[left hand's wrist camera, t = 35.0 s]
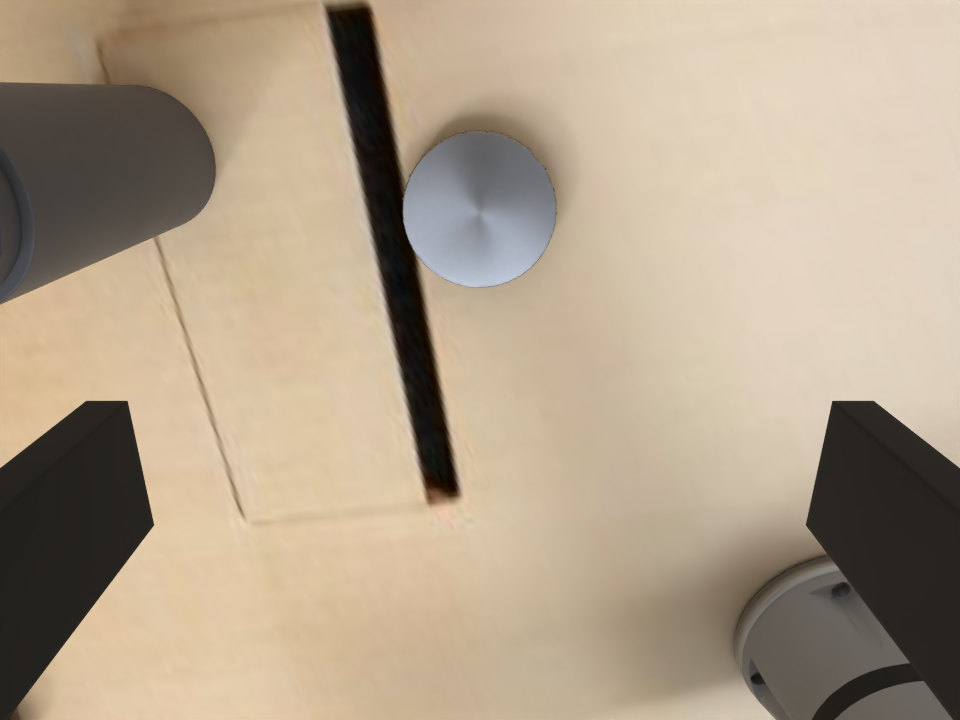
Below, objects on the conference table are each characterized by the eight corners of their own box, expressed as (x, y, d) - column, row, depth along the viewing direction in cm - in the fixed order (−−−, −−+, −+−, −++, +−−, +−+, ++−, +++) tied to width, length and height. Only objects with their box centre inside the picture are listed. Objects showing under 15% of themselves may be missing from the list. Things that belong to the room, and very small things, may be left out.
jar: (59, 190, 40) (-280, 267, 22) (97, 57, 37) (-254, 24, 19) (190, 252, 41) (-30, 372, 24) (235, 129, 39) (27, 159, 21)
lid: (417, 288, 42) (414, 297, 40) (393, 139, 39) (388, 142, 37) (558, 270, 42) (563, 279, 40) (546, 119, 38) (549, 120, 36)
